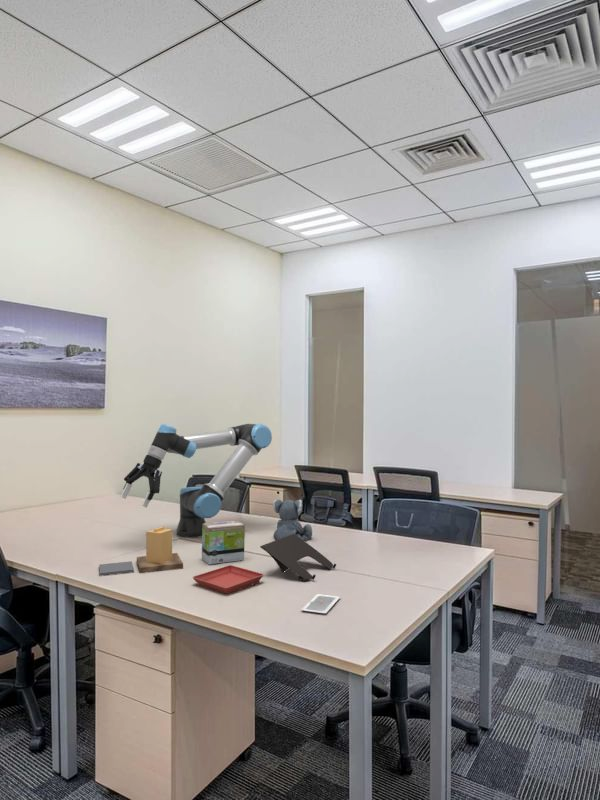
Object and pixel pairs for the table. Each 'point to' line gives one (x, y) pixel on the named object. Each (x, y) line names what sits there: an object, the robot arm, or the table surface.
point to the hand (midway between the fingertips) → (133, 502)
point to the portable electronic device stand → (294, 555)
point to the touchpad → (321, 603)
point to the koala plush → (290, 520)
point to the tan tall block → (159, 545)
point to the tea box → (223, 542)
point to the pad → (116, 568)
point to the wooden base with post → (159, 564)
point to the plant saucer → (228, 578)
